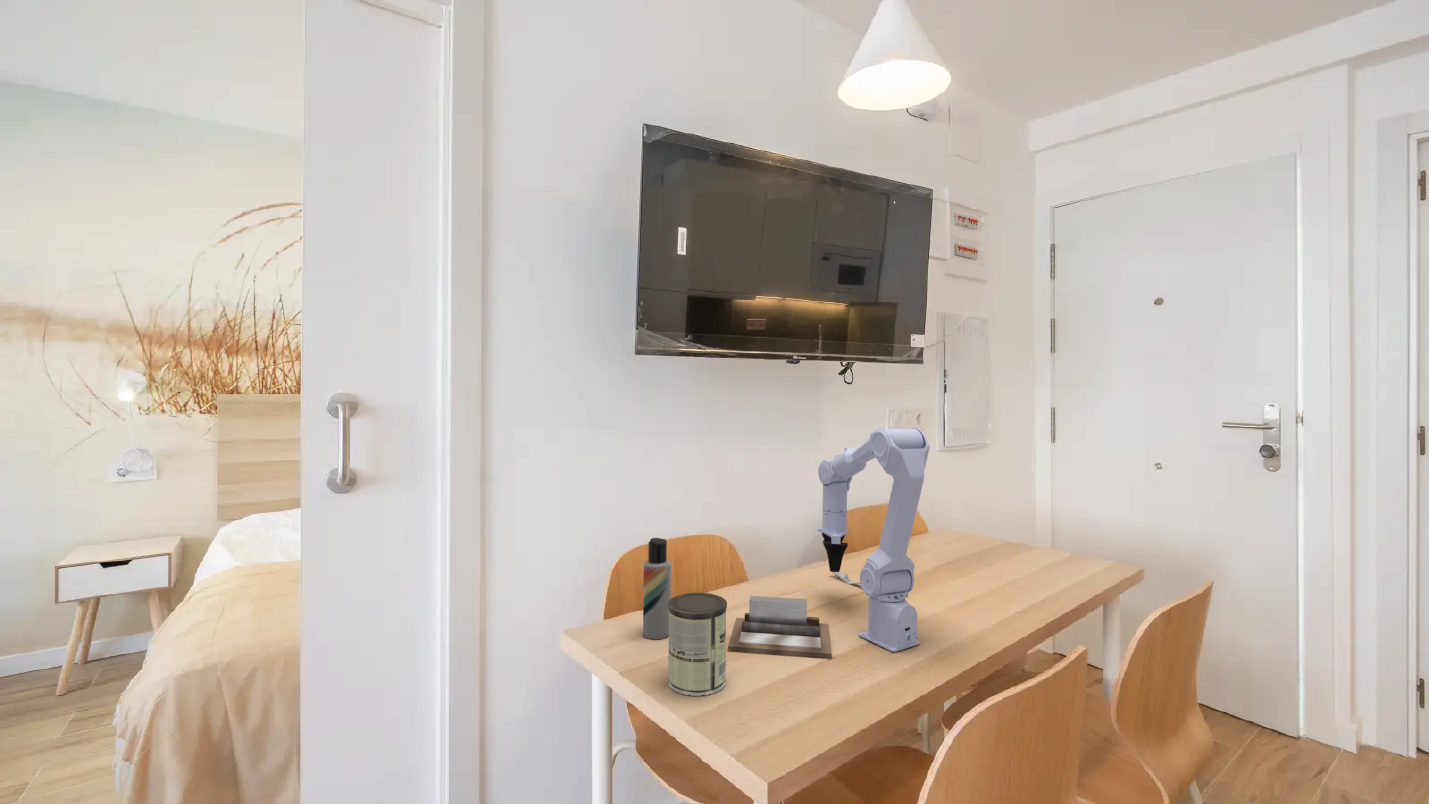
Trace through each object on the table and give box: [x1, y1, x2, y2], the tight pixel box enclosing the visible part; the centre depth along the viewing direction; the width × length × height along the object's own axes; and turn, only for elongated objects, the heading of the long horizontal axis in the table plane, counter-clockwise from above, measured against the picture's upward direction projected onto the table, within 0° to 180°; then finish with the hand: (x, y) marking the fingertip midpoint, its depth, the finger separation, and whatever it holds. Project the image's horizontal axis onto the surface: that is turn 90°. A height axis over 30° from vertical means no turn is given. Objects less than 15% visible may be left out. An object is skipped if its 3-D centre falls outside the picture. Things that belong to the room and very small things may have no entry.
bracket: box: [829, 568, 861, 585], centre depth 159 cm, size 2×6×15 cm
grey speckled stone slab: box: [748, 595, 808, 626], centre depth 126 cm, size 12×3×6 cm, turn 82°
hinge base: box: [727, 612, 833, 660], centre depth 122 cm, size 20×15×3 cm
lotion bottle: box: [642, 537, 672, 640], centre depth 124 cm, size 6×6×20 cm
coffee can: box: [667, 592, 728, 697], centre depth 104 cm, size 10×10×14 cm
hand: (833, 566), depth 142 cm, fingers open, 7 cm apart
